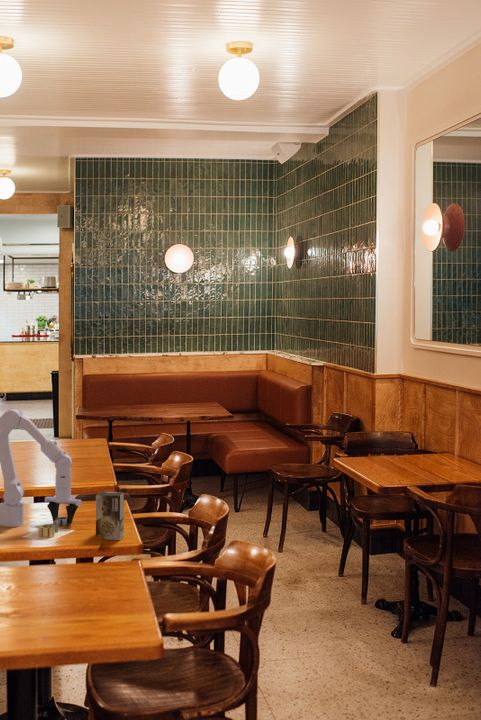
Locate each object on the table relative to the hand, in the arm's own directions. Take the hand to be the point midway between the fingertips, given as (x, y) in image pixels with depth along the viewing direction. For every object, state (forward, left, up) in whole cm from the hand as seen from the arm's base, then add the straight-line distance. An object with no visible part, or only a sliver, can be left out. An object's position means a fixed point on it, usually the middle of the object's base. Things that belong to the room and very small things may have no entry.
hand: (62, 523), depth 306 cm
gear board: (+3, -14, -2) cm, 14 cm away
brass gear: (+4, -17, 0) cm, 17 cm away
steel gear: (0, 0, -2) cm, 2 cm away
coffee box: (+23, -6, -2) cm, 24 cm away
